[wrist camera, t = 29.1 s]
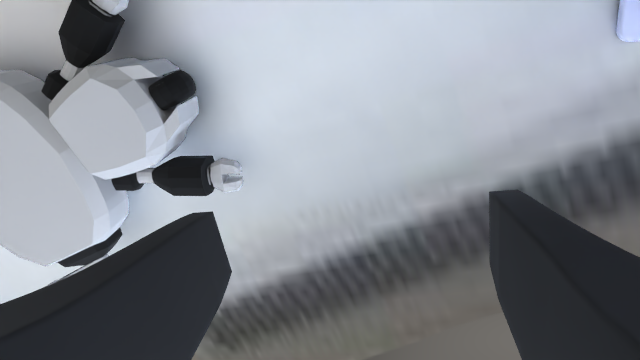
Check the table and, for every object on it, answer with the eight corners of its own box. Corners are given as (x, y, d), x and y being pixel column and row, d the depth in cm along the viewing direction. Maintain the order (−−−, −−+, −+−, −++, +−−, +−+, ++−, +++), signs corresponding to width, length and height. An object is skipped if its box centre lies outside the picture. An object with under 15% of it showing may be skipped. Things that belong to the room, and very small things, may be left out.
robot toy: (141, -48, 19) (-56, 93, 23) (77, -63, 15) (-148, 113, 19) (271, 169, 23) (82, 257, 27) (249, 206, 19) (30, 303, 23)
